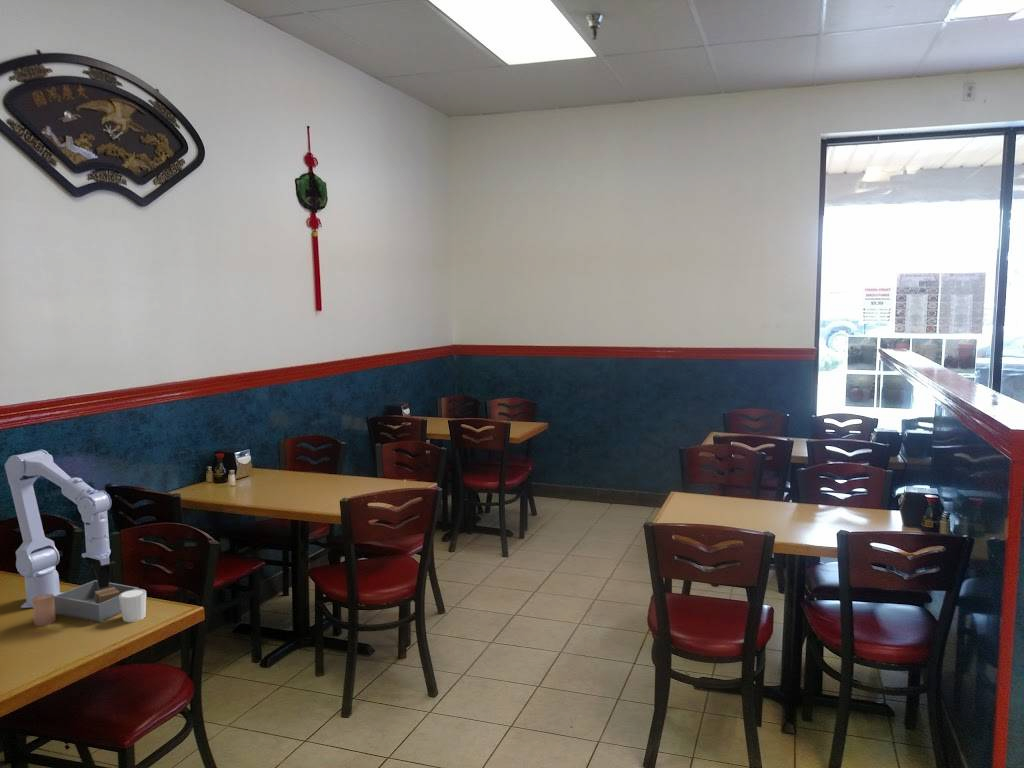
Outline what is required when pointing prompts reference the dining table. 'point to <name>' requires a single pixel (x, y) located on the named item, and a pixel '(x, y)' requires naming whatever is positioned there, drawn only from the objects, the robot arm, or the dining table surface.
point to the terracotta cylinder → (44, 609)
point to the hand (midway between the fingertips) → (100, 583)
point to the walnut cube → (105, 594)
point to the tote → (89, 602)
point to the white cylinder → (133, 604)
